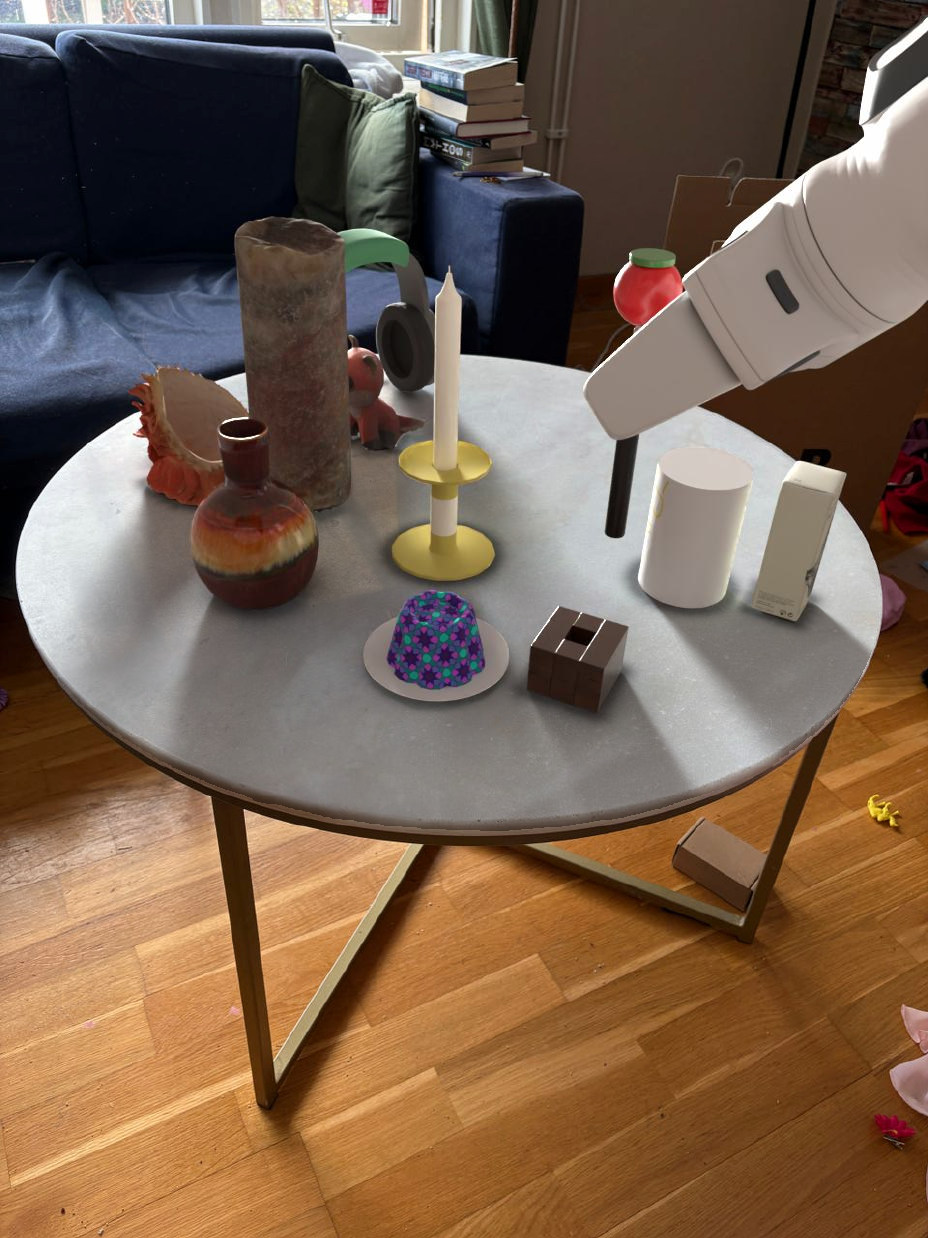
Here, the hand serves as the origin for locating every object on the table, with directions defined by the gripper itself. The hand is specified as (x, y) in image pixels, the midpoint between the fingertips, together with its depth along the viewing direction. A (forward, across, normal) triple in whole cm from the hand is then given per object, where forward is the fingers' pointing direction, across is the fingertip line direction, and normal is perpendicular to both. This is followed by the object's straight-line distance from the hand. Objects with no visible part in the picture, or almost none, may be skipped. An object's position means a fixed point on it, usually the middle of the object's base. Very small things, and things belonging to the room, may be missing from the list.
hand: (624, 403), depth 60 cm
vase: (+39, +6, -4) cm, 40 cm away
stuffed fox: (+48, -23, -12) cm, 54 cm away
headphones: (+55, -31, -20) cm, 66 cm away
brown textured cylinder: (+45, -7, -10) cm, 47 cm away
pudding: (+26, +4, +9) cm, 28 cm away
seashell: (+54, -5, -19) cm, 58 cm away
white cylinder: (+19, -20, +16) cm, 32 cm away
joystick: (+6, 0, +7) cm, 9 cm away
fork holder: (+19, -1, +16) cm, 25 cm away
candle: (+33, -9, +2) cm, 34 cm away
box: (+13, -23, +22) cm, 34 cm away
